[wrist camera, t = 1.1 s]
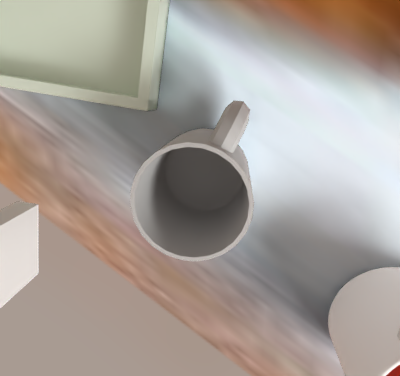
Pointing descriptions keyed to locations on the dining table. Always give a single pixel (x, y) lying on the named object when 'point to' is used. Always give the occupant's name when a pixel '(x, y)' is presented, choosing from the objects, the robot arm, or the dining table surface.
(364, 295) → the cup
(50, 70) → the tray
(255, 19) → the dining table surface
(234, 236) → the cup
